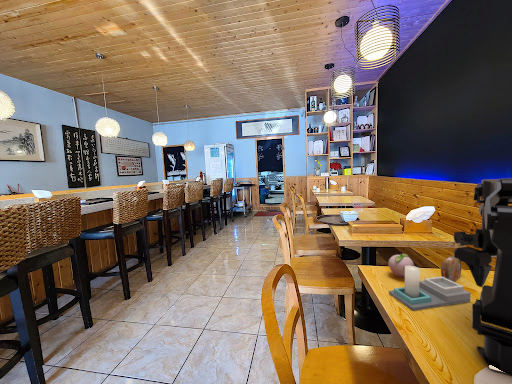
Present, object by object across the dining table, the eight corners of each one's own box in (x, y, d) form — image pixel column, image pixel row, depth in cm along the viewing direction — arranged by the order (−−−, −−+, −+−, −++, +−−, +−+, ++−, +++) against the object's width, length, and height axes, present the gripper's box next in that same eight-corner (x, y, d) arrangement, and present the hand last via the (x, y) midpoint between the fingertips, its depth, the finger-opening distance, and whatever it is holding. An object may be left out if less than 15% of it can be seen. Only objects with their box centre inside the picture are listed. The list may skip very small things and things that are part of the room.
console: (413, 310, 67) (413, 297, 66) (388, 293, 77) (388, 281, 76) (470, 301, 70) (470, 288, 69) (439, 286, 80) (439, 274, 79)
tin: (449, 287, 78) (450, 265, 78) (438, 284, 81) (439, 262, 80) (462, 275, 87) (462, 255, 86) (451, 272, 89) (452, 252, 89)
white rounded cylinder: (422, 299, 70) (422, 270, 70) (410, 300, 70) (411, 271, 69) (410, 291, 75) (410, 264, 74) (399, 292, 75) (399, 264, 74)
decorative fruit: (392, 270, 94) (392, 247, 93) (415, 276, 88) (415, 252, 87) (385, 277, 88) (385, 253, 87) (409, 284, 82) (409, 259, 81)
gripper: (492, 218, 65) (490, 268, 66) (435, 222, 63) (435, 274, 65) (545, 227, 54) (541, 287, 55) (478, 232, 52) (476, 294, 54)
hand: (494, 284), depth 58 cm, fingers open, 9 cm apart
